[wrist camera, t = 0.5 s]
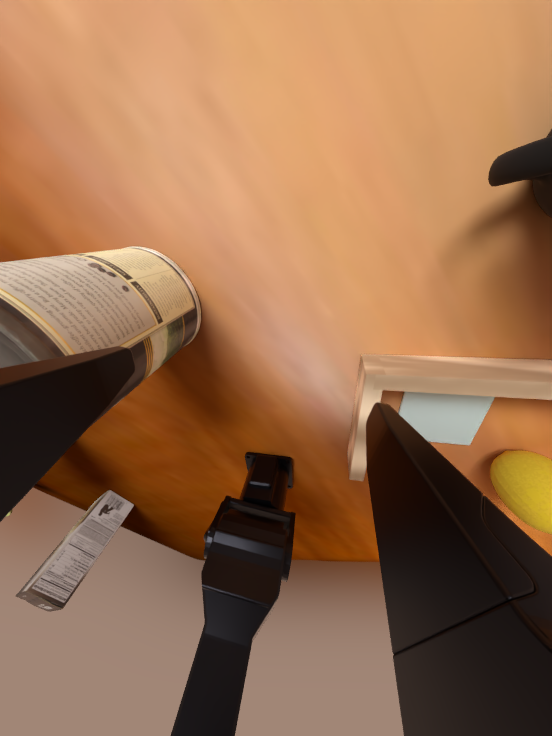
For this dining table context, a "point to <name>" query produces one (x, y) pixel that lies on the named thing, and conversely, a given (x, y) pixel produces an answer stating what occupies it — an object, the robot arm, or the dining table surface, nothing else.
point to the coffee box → (76, 553)
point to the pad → (445, 415)
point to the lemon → (525, 486)
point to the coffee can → (97, 308)
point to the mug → (527, 169)
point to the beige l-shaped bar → (439, 386)
